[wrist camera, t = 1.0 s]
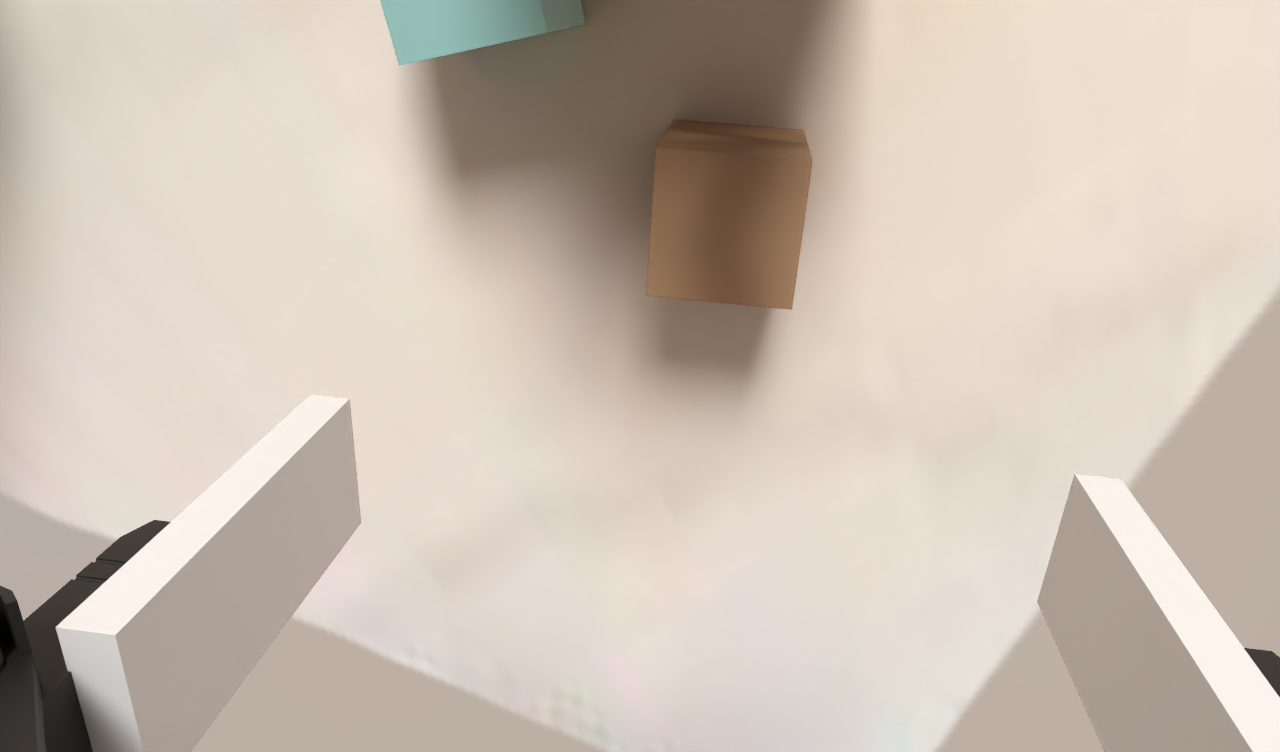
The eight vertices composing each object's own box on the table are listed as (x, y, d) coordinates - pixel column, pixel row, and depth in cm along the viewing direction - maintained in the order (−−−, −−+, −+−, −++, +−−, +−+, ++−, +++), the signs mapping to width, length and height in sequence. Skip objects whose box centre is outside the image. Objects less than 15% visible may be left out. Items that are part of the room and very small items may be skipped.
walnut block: (664, 243, 44) (646, 295, 37) (674, 119, 41) (655, 148, 34) (786, 255, 43) (791, 309, 36) (803, 129, 41) (812, 161, 34)
